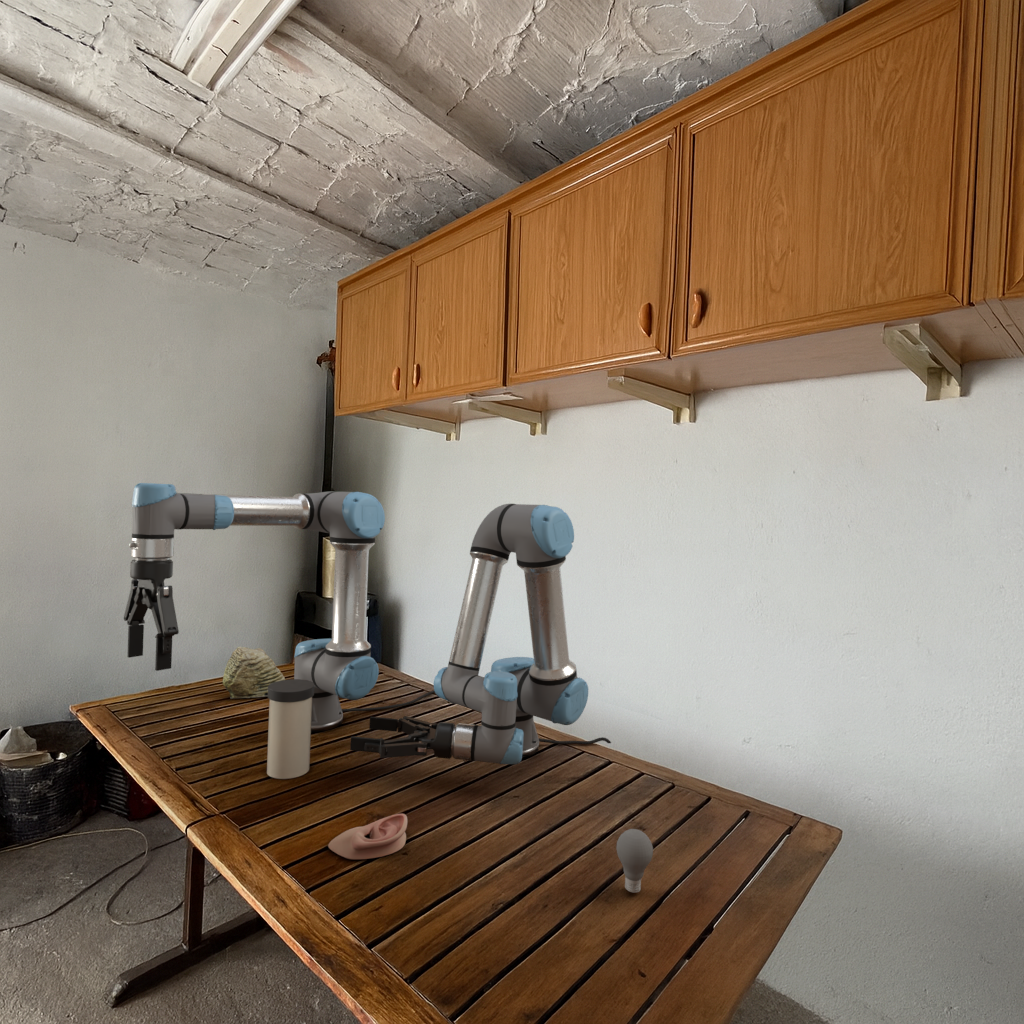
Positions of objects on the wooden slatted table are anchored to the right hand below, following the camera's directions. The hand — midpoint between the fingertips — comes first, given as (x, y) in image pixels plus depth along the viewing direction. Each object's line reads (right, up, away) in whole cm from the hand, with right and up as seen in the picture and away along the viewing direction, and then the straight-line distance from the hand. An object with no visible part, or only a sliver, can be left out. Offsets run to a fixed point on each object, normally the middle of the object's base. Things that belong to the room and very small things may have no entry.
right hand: (360, 732), depth 143 cm
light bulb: (+54, -14, -37) cm, 67 cm away
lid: (-17, +9, +3) cm, 19 cm away
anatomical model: (+8, -11, -26) cm, 30 cm away
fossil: (-47, -8, +55) cm, 73 cm away
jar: (-17, -10, +3) cm, 20 cm away
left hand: (-40, +19, -13) cm, 46 cm away
